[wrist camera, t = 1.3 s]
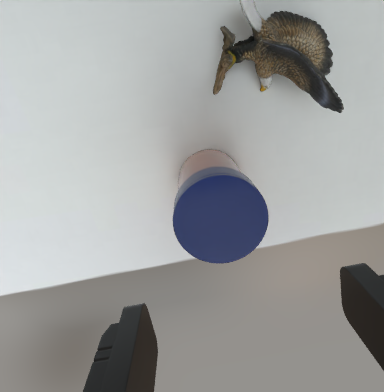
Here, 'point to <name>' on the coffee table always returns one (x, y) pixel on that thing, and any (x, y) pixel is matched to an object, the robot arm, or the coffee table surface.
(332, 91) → the brown animal figure
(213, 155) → the jar
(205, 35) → the coffee table surface
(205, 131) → the coffee table surface
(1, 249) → the coffee table surface
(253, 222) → the jar lid
